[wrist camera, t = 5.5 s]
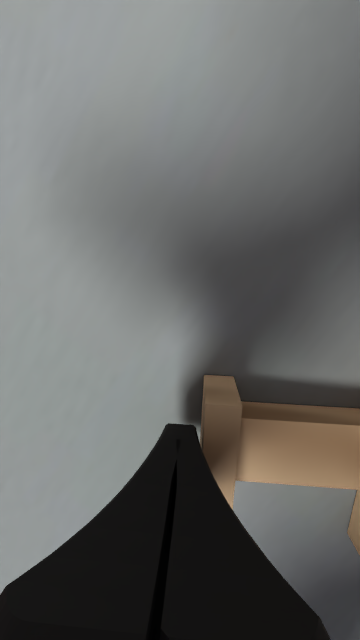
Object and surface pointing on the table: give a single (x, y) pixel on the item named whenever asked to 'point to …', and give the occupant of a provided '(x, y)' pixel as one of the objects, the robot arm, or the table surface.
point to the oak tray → (279, 444)
